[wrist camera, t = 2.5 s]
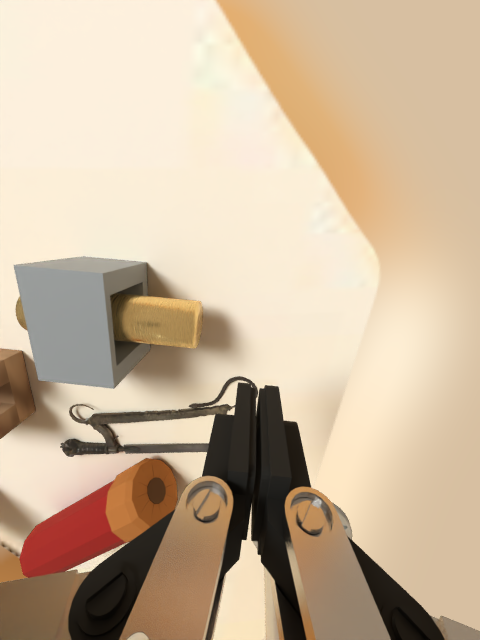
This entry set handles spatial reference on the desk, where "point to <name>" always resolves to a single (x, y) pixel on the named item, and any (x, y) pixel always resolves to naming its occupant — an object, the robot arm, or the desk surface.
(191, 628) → the robot arm
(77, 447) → the hacksaw
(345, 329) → the desk surface
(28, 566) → the shell casing
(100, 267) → the grey hollow block
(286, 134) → the desk surface
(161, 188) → the desk surface
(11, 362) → the v block
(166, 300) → the axle
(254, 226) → the desk surface
